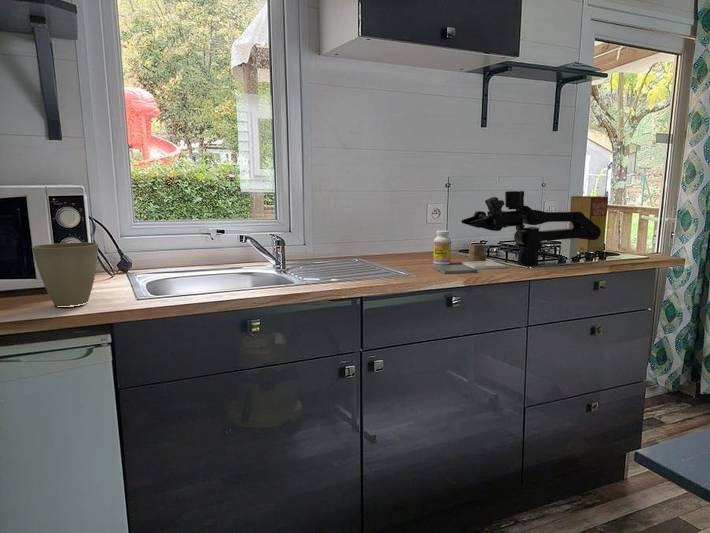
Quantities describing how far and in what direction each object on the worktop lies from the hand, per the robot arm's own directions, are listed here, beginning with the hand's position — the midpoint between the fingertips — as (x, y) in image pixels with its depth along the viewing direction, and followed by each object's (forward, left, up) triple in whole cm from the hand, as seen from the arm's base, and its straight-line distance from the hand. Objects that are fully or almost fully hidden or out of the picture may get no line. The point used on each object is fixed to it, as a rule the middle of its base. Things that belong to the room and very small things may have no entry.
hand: (466, 222), depth 181 cm
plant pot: (+124, +35, -17) cm, 130 cm away
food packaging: (-67, -25, -17) cm, 74 cm away
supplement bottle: (+6, -9, -17) cm, 20 cm away
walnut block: (-9, -10, -17) cm, 22 cm away
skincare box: (-49, -10, -17) cm, 53 cm away
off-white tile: (-7, 0, -17) cm, 18 cm away
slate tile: (+7, +7, -17) cm, 19 cm away
